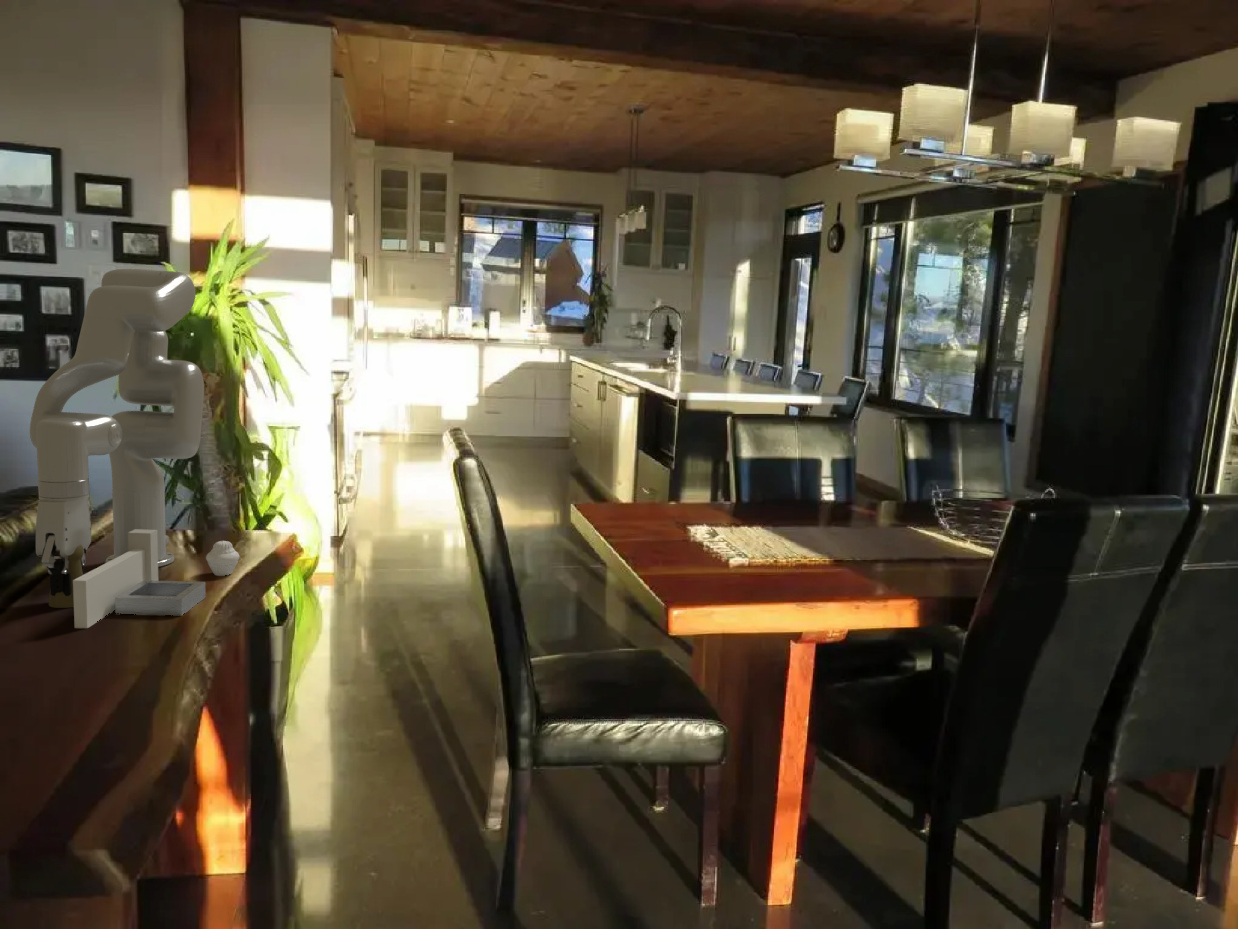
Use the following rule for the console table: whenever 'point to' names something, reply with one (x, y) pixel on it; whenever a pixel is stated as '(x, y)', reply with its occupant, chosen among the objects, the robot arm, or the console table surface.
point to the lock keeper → (160, 598)
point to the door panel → (115, 578)
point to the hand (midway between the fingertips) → (68, 590)
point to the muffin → (222, 558)
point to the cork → (76, 572)
